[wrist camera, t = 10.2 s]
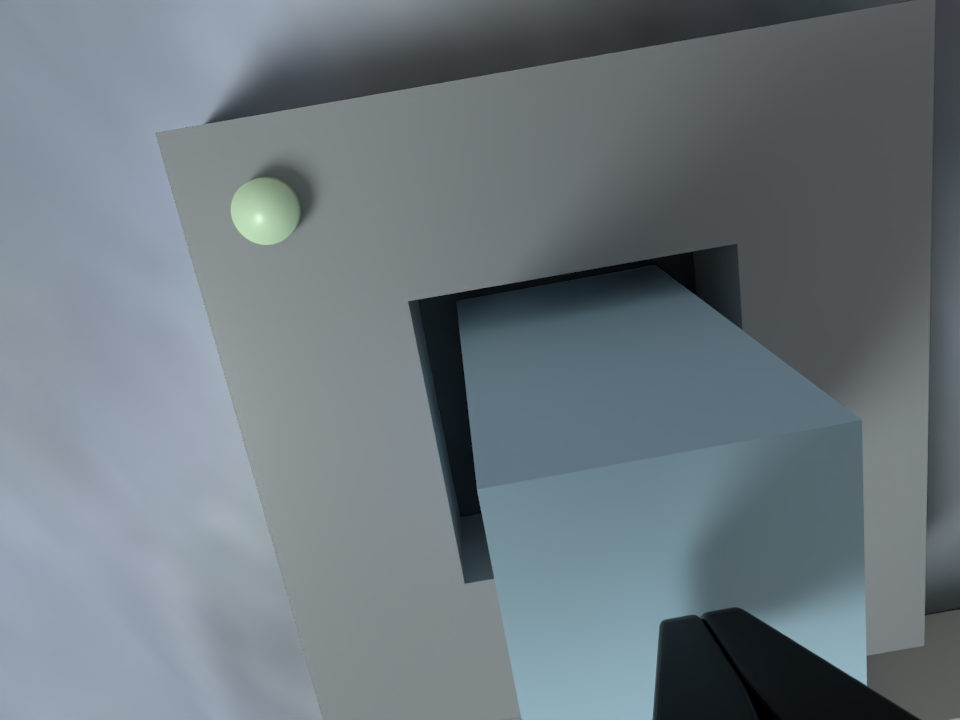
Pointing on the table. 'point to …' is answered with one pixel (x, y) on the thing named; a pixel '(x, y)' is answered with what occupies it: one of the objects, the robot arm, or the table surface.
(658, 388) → the plug
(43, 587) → the table surface
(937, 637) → the grey square frame
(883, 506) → the socket
